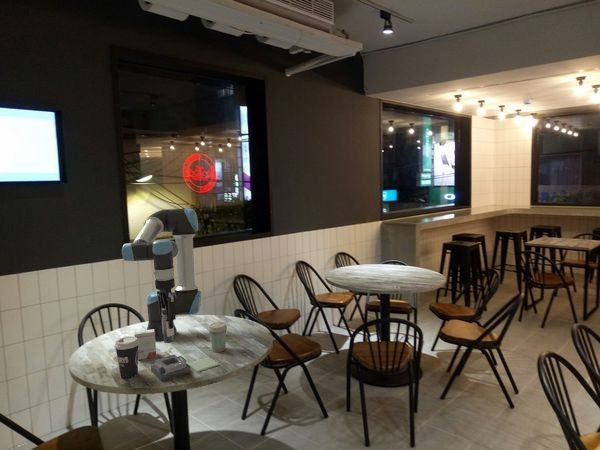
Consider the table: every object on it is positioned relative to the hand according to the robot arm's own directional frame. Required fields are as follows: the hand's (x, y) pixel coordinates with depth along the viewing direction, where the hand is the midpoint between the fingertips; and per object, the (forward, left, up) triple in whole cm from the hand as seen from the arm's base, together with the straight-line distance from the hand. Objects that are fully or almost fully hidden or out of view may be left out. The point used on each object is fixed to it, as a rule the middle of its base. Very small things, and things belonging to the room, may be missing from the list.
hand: (168, 334), depth 175 cm
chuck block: (0, 0, -16) cm, 16 cm away
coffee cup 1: (-9, -14, -16) cm, 23 cm away
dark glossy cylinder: (0, 0, -3) cm, 3 cm away
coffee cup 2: (-7, +26, -16) cm, 31 cm away
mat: (+3, +13, -16) cm, 21 cm away
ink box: (-23, -2, -16) cm, 28 cm away
